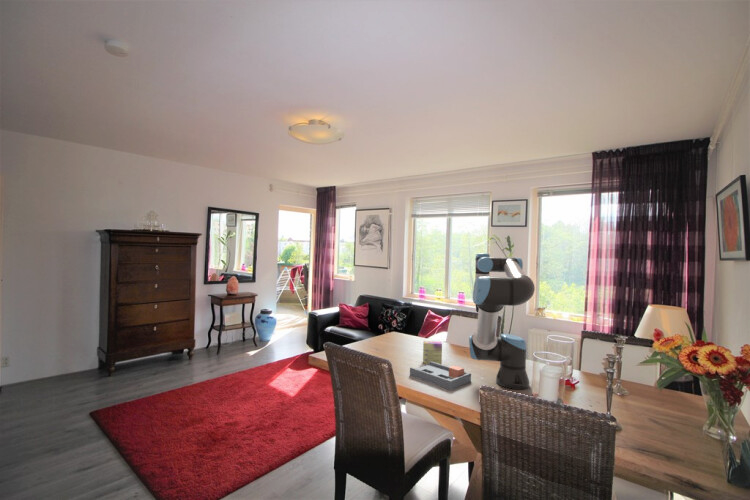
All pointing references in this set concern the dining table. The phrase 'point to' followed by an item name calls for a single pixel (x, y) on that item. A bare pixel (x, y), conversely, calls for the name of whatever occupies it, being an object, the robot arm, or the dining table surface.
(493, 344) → the robot arm
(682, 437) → the dining table surface
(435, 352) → the box
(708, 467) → the dining table surface
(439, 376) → the box
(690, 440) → the dining table surface
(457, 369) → the block
